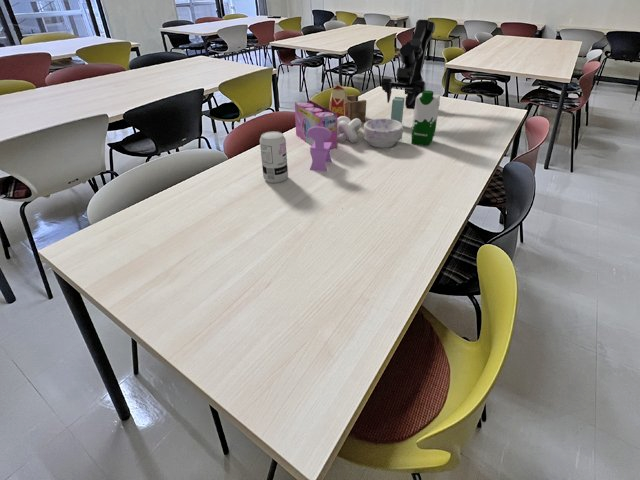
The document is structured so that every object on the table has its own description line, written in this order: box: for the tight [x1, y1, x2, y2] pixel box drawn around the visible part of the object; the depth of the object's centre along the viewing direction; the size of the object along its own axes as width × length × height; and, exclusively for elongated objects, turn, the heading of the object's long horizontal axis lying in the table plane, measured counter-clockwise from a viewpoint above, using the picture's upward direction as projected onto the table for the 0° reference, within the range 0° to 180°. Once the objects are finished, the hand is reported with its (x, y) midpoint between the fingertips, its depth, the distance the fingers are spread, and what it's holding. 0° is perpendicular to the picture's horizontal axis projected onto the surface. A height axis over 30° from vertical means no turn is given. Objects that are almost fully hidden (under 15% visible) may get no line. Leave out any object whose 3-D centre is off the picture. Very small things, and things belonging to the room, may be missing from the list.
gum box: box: [294, 99, 338, 151], centre depth 156 cm, size 24×8×14 cm, turn 28°
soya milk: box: [410, 90, 441, 147], centre depth 151 cm, size 9×9×20 cm
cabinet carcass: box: [347, 94, 367, 123], centre depth 180 cm, size 10×11×10 cm
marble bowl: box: [363, 118, 404, 149], centre depth 154 cm, size 15×15×8 cm
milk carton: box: [328, 81, 349, 133], centre depth 166 cm, size 9×9×20 cm
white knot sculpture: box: [337, 116, 362, 144], centre depth 158 cm, size 11×12×9 cm
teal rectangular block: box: [390, 96, 406, 124], centre depth 170 cm, size 5×4×12 cm
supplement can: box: [259, 130, 289, 184], centre depth 127 cm, size 8×8×15 cm
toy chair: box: [308, 126, 333, 172], centre depth 136 cm, size 8×9×15 cm
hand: (398, 103), depth 168 cm, fingers open, 9 cm apart
